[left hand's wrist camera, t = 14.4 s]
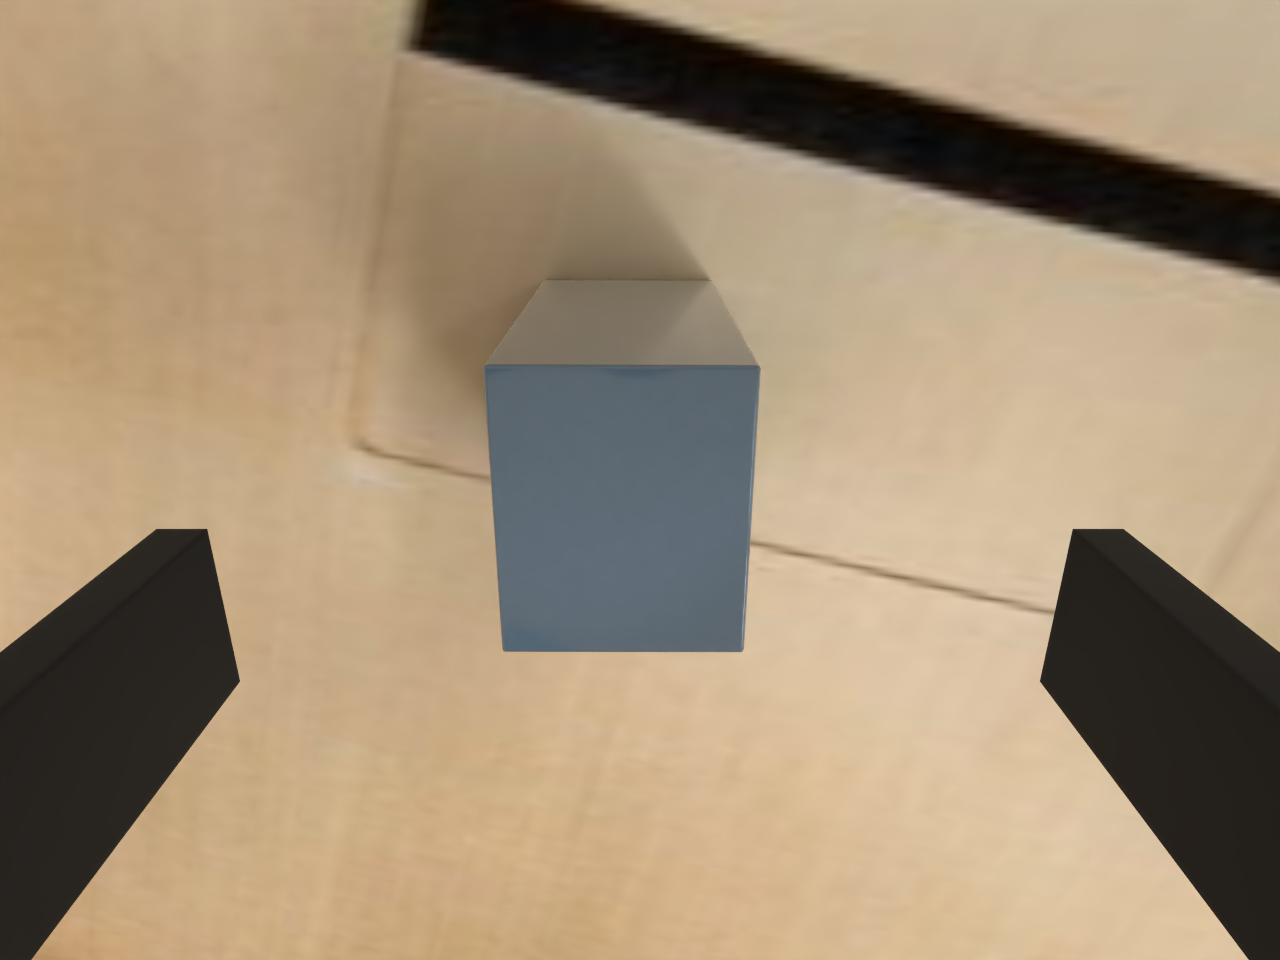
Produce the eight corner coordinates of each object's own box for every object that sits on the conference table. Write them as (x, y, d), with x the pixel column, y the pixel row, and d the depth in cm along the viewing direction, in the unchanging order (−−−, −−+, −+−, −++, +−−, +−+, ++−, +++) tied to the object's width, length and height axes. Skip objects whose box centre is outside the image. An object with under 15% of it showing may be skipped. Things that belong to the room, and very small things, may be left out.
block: (542, 279, 27) (482, 365, 16) (712, 280, 27) (761, 366, 16) (550, 471, 29) (501, 652, 19) (705, 471, 29) (743, 653, 19)
